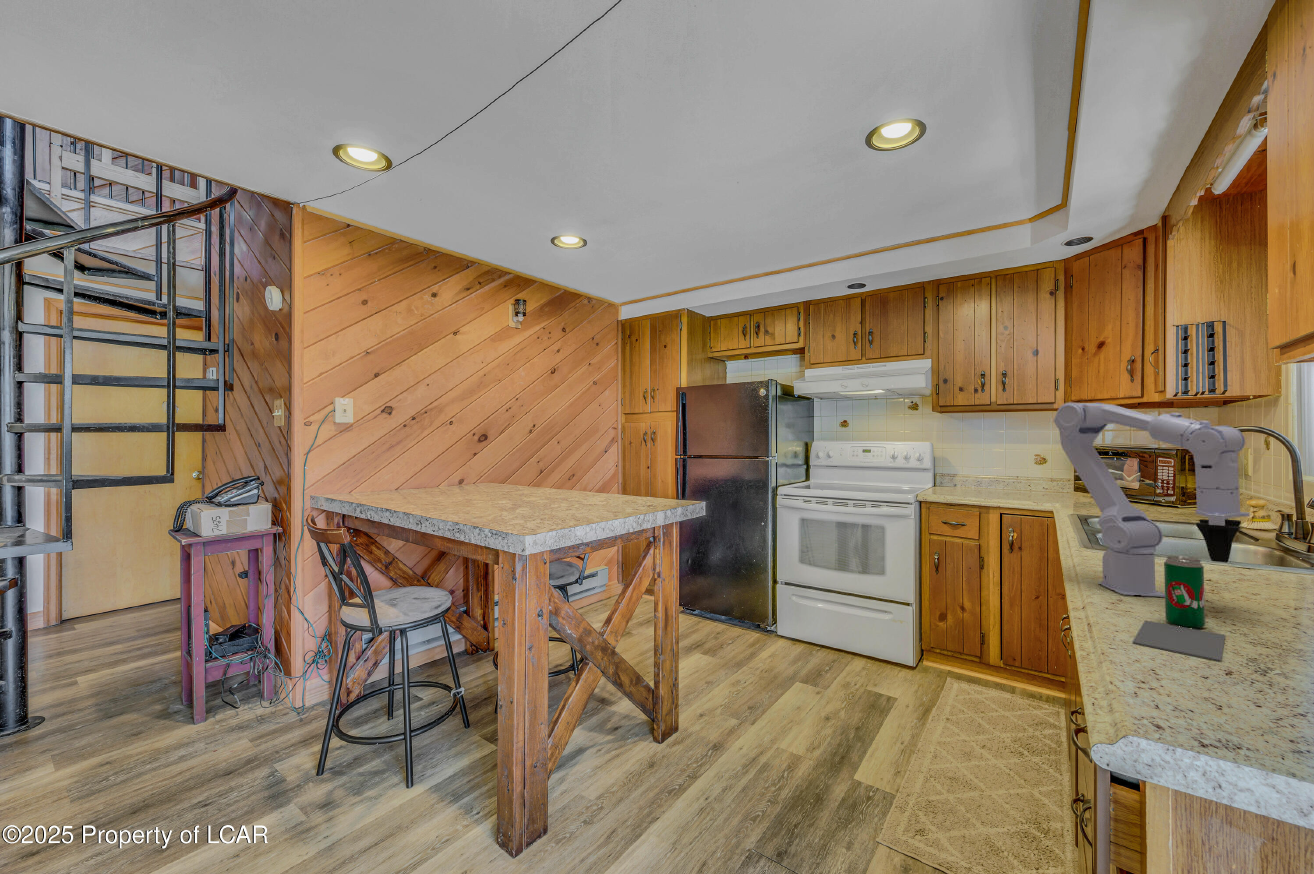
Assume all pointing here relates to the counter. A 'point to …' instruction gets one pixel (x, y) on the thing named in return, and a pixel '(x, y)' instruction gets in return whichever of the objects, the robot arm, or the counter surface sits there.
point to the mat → (1181, 640)
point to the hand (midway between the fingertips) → (1220, 558)
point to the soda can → (1184, 592)
